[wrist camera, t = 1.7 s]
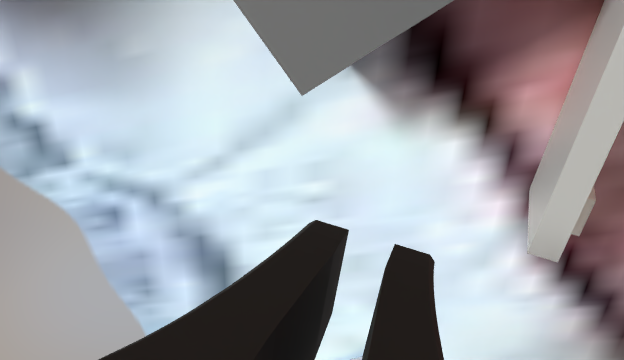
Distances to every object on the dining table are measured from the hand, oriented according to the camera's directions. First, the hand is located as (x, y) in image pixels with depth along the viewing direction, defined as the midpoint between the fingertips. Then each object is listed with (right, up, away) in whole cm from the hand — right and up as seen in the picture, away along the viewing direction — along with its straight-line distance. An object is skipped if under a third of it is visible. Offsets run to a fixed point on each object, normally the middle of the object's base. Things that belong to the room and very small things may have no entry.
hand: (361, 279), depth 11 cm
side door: (+7, +5, +5) cm, 10 cm away
